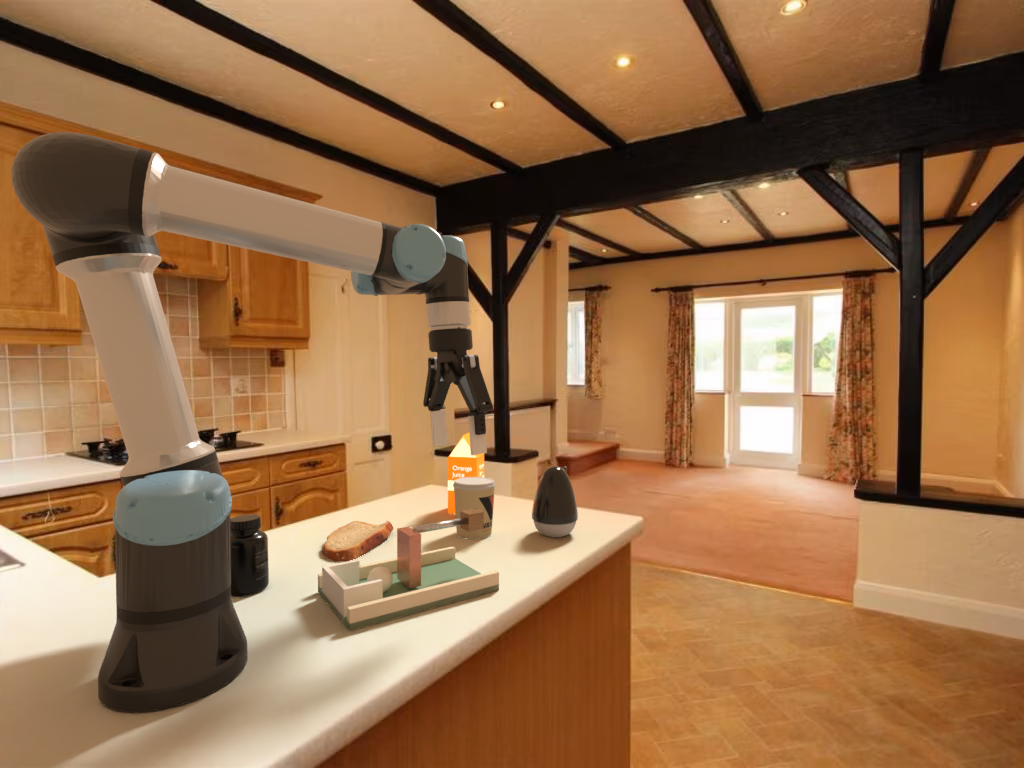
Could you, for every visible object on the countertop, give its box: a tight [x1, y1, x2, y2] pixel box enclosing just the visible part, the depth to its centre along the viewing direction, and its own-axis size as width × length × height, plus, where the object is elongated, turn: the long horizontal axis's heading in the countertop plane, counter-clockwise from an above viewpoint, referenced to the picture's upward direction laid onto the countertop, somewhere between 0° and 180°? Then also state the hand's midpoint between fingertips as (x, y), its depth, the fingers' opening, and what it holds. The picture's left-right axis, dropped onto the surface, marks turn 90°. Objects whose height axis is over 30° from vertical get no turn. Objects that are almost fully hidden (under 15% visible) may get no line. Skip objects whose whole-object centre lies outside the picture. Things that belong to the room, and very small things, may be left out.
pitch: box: [317, 546, 500, 632], centre depth 90 cm, size 25×16×5 cm, turn 125°
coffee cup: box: [453, 476, 496, 540], centre depth 121 cm, size 9×9×12 cm
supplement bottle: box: [230, 513, 270, 598], centre depth 90 cm, size 7×7×12 cm
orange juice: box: [447, 432, 485, 514], centre depth 142 cm, size 8×9×20 cm
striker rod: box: [396, 509, 484, 589], centre depth 93 cm, size 14×5×10 cm, turn 125°
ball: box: [367, 567, 393, 592], centre depth 87 cm, size 4×4×4 cm
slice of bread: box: [321, 520, 394, 562], centre depth 115 cm, size 18×18×4 cm
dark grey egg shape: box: [531, 465, 579, 538], centre depth 121 cm, size 10×10×15 cm
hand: (458, 449), depth 96 cm, fingers open, 13 cm apart
